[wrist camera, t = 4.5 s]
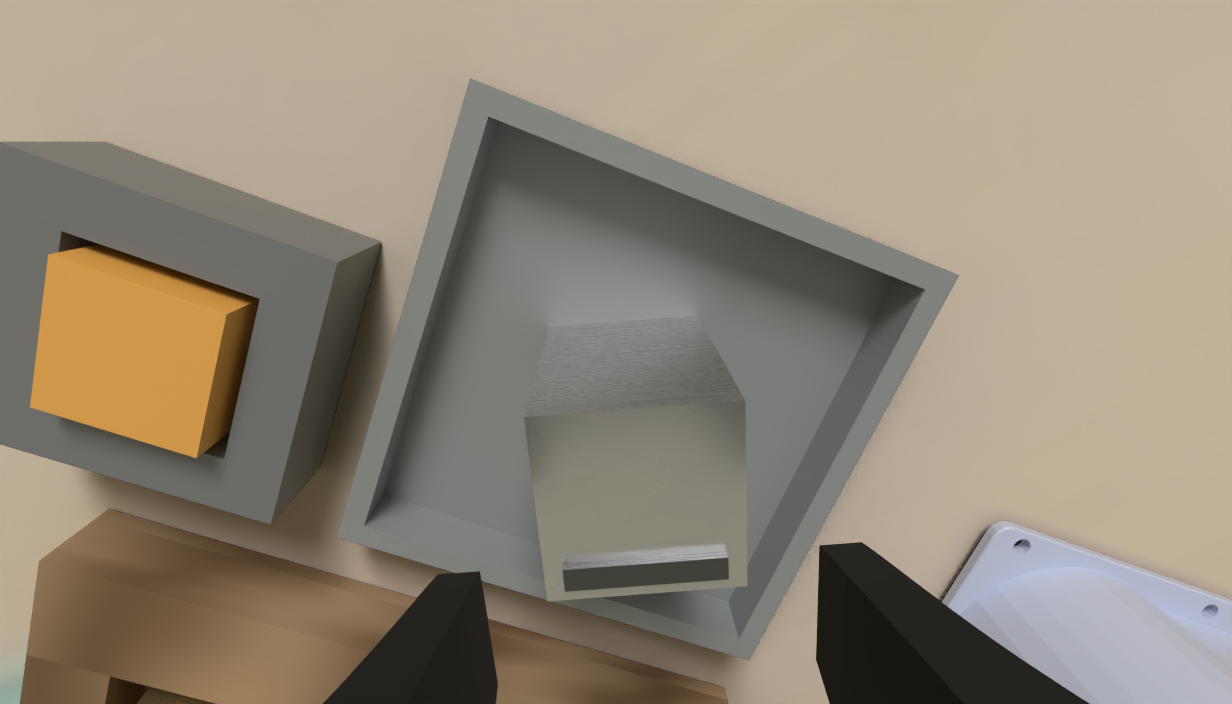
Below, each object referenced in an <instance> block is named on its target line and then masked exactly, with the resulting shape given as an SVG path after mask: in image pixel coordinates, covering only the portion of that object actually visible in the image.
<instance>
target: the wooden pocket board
mask: <svg viewBox="0 0 1232 704" xmlns="http://www.w3.org/2000/svg"><path fill="white" fill-rule="evenodd" d="M416 599H417V598H413V597H410V596H406V595H403V594H399V593H396V592H393V591H389V590H386V589H382V588H379V587H375V586H372V585H368V584H365V583H362V582H358V581H355V580H351V579H348V578H344V577H341V576H337V575H334V574H331V573H327V572H324V571H320V570H317V569H313V568H310V567H306V566H303V565H300V564H296V563H293V562H289V561H286V560H282V559H279V558H275V557H272V556H269V555H265V554H262V553H258V552H255V551H251V550H248V549H244V548H241V547H238V546H234V545H231V544H227V543H224V542H220V541H217V540H213V539H210V538H207V537H203V536H200V535H196V534H193V533H189V532H186V531H182V530H179V529H176V528H172V527H169V526H165V525H162V524H158V523H155V522H151V521H148V520H145V519H141V518H138V517H134V516H131V515H127V514H124V513H120V512H117V511H114V510H110V509H108V510H107V511H105V512H104V513H103V514H101V515H100V516H99V517H97V518H96V519H95V520H93V521H92V522H91V523H89V524H88V525H87V526H85V527H84V528H83V529H81V530H80V531H79V532H77V533H76V534H75V535H73V536H72V537H71V538H69V539H68V540H67V541H65V542H64V543H63V544H61V545H60V546H59V547H57V548H56V549H54V550H53V551H52V552H50V553H49V554H48V555H46V556H45V557H44V558H42V559H41V560H40V561H39V566H38V574H37V581H36V588H35V596H34V603H33V611H32V618H31V625H30V633H29V640H28V648H27V655H26V663H25V670H24V677H23V685H22V692H21V700H20V704H137V703H138V701H139V700H140V699H141V698H142V696H143V695H144V694H145V693H146V692H147V690H148V689H149V688H150V687H153V688H157V689H161V690H165V691H169V692H173V693H177V694H181V695H184V696H188V697H192V698H196V699H200V700H204V701H208V702H212V703H215V704H323V703H324V702H325V701H326V700H327V699H328V698H329V696H330V695H331V694H332V693H333V692H334V691H335V690H336V689H337V688H338V687H339V686H340V685H341V684H342V682H343V681H344V680H345V679H346V678H347V677H348V676H349V675H350V674H351V673H352V671H353V670H354V669H355V668H356V667H357V666H358V665H359V664H360V663H361V661H362V660H363V659H364V658H365V657H366V656H367V655H368V654H369V653H370V651H371V650H372V649H373V648H374V647H375V646H376V645H377V644H378V643H379V641H380V640H381V639H382V638H383V637H384V636H385V634H386V633H387V632H388V631H389V630H390V629H391V628H392V626H393V625H394V624H395V623H396V622H397V621H398V620H399V618H400V617H401V616H402V615H403V614H404V613H405V611H406V610H407V609H408V608H409V607H410V606H411V604H412V603H413V602H414V601H415V600H416ZM488 624H489V631H490V637H491V643H492V649H493V655H494V662H495V668H496V674H497V680H498V689H497V698H496V704H728V700H727V696H726V692H725V688H723V687H720V686H716V685H713V684H709V683H706V682H703V681H699V680H696V679H692V678H689V677H685V676H682V675H678V674H675V673H672V672H668V671H665V670H661V669H658V668H654V667H651V666H647V665H644V664H641V663H637V662H634V661H630V660H627V659H623V658H620V657H616V656H613V655H610V654H606V653H603V652H599V651H596V650H592V649H589V648H585V647H582V646H579V645H575V644H572V643H568V642H565V641H561V640H558V639H554V638H551V637H548V636H544V635H541V634H537V633H534V632H530V631H527V630H523V629H520V628H517V627H513V626H510V625H506V624H503V623H499V622H496V621H492V620H489V619H488Z"/></svg>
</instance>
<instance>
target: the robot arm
mask: <svg viewBox="0 0 1232 704" xmlns="http://www.w3.org/2000/svg"><path fill="white" fill-rule="evenodd" d="M1019 540H1022V541H1021V543H1020V544H1018V545H1016V546H1014V544H1015V543H1016V542H1017V541H1019ZM816 660H817V664H818V667H819V670H820V673H821V677H822V680H823V683H824V686H825V690H826V693H827V696H828V699H829V702H830V704H1232V599H1229V598H1226V597H1223V596H1220V595H1217V594H1215V593H1212V592H1209V591H1206V590H1203V589H1200V588H1197V587H1195V586H1192V585H1189V584H1186V583H1183V582H1180V581H1177V580H1174V579H1172V578H1169V577H1166V576H1163V575H1160V574H1157V573H1154V572H1152V571H1149V570H1146V569H1143V568H1140V567H1137V566H1134V565H1132V564H1129V563H1126V562H1123V561H1120V560H1117V559H1114V558H1111V557H1109V556H1106V555H1103V554H1100V553H1097V552H1094V551H1091V550H1089V549H1086V548H1083V547H1080V546H1077V545H1074V544H1071V543H1068V542H1066V541H1063V540H1060V539H1057V538H1054V537H1051V536H1048V535H1046V534H1043V533H1040V532H1037V531H1034V530H1031V529H1028V528H1026V527H1023V526H1020V525H1017V524H1014V523H1011V522H1006V521H1002V522H997V523H995V524H993V525H992V526H991V527H990V528H989V529H988V530H987V531H986V533H985V534H984V536H983V538H982V539H981V541H980V542H979V544H978V546H977V547H976V549H975V550H974V552H973V553H972V555H971V557H970V558H969V560H968V561H967V563H966V564H965V566H964V568H963V569H962V571H961V572H960V574H959V575H958V577H957V579H956V580H955V582H954V583H953V585H952V587H951V588H950V590H949V591H948V593H947V594H946V596H945V598H944V599H943V601H942V602H941V601H939V600H938V599H937V598H935V597H934V596H933V595H931V594H930V593H929V592H928V591H926V590H925V589H924V588H922V587H921V586H920V585H918V584H917V583H916V582H914V581H913V580H912V579H910V578H909V577H908V576H906V575H905V574H904V573H902V572H901V571H900V570H899V569H897V568H896V567H895V566H893V565H892V564H891V563H889V562H888V561H887V560H885V559H884V558H883V557H881V556H880V555H879V554H877V553H876V552H875V551H873V550H872V549H870V548H869V547H868V546H866V545H865V544H863V543H862V542H860V543H846V544H833V545H820V550H819V583H818V617H817V651H816ZM497 689H498V680H497V674H496V668H495V662H494V655H493V649H492V643H491V637H490V631H489V624H488V618H487V612H486V606H485V600H484V593H483V587H482V581H481V575H480V571H476V572H463V573H450V574H438V575H437V576H436V577H435V578H434V580H433V581H432V582H431V583H430V584H429V585H428V586H427V587H426V588H425V590H424V591H423V592H422V593H421V594H420V595H419V596H418V597H417V599H416V600H415V601H414V602H413V603H412V604H411V606H410V607H409V608H408V609H407V610H406V611H405V613H404V614H403V615H402V616H401V617H400V618H399V620H398V621H397V622H396V623H395V624H394V625H393V626H392V628H391V629H390V630H389V631H388V632H387V633H386V634H385V636H384V637H383V638H382V639H381V640H380V641H379V643H378V644H377V645H376V646H375V647H374V648H373V649H372V650H371V651H370V653H369V654H368V655H367V656H366V657H365V658H364V659H363V660H362V661H361V663H360V664H359V665H358V666H357V667H356V668H355V669H354V670H353V671H352V673H351V674H350V675H349V676H348V677H347V678H346V679H345V680H344V681H343V682H342V684H341V685H340V686H339V687H338V688H337V689H336V690H335V691H334V692H333V693H332V694H331V695H330V696H329V698H328V699H327V700H326V701H325V702H324V703H323V704H496V698H497Z"/></svg>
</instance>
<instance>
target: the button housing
mask: <svg viewBox="0 0 1232 704" xmlns="http://www.w3.org/2000/svg"><path fill="white" fill-rule="evenodd" d="M97 244H101V245H104V246H106V247H109V248H112V249H115V250H118V251H121V252H124V253H127V254H130V255H133V256H136V257H139V258H142V259H145V260H147V261H150V262H153V263H156V264H159V265H162V266H165V267H168V268H171V269H174V270H177V271H180V272H183V273H186V274H189V275H191V276H194V277H197V278H200V279H203V280H206V281H209V282H212V283H215V284H218V285H221V286H224V287H227V288H230V289H232V290H235V291H238V292H241V293H244V294H247V295H250V296H253V297H256V298H259V299H260V300H259V305H258V309H257V314H256V318H255V323H254V327H253V332H252V336H251V341H250V345H249V350H248V354H247V359H246V363H245V368H244V372H243V377H242V381H241V386H240V390H239V395H238V399H237V404H236V408H235V413H234V417H233V422H232V426H231V431H230V432H229V433H228V434H227V435H226V436H224V437H223V438H222V439H220V440H219V441H218V442H217V443H215V444H214V445H213V446H211V447H210V448H209V449H208V450H206V451H205V452H204V453H203V454H201V455H200V456H199V457H197V458H194V457H191V456H188V455H184V454H181V453H178V452H175V451H171V450H168V449H165V448H162V447H158V446H155V445H152V444H148V443H145V442H142V441H139V440H135V439H132V438H129V437H126V436H122V435H119V434H116V433H112V432H109V431H106V430H103V429H99V428H96V427H93V426H90V425H86V424H83V423H80V422H76V421H73V420H70V419H67V418H63V417H60V416H57V415H54V414H50V413H47V412H44V411H40V410H37V409H34V408H31V407H30V402H31V394H32V385H33V377H34V369H35V360H36V352H37V344H38V335H39V327H40V319H41V310H42V302H43V294H44V285H45V277H46V269H47V260H48V254H53V253H58V252H63V251H68V250H73V249H78V248H83V247H88V246H92V245H97ZM380 246H381V242H380V241H377V240H375V239H372V238H369V237H366V236H364V235H361V234H358V233H355V232H352V231H350V230H347V229H344V228H341V227H339V226H336V225H333V224H330V223H328V222H325V221H322V220H319V219H316V218H314V217H311V216H308V215H305V214H303V213H300V212H297V211H294V210H292V209H289V208H286V207H283V206H281V205H278V204H275V203H272V202H269V201H267V200H264V199H261V198H258V197H256V196H253V195H250V194H247V193H245V192H242V191H239V190H236V189H234V188H231V187H228V186H225V185H222V184H220V183H217V182H214V181H211V180H209V179H206V178H203V177H200V176H198V175H195V174H192V173H189V172H186V171H184V170H181V169H178V168H175V167H173V166H170V165H167V164H164V163H162V162H159V161H156V160H153V159H151V158H148V157H145V156H142V155H139V154H137V153H134V152H131V151H128V150H126V149H123V148H120V147H117V146H115V145H112V144H109V143H106V142H0V444H1V445H4V446H7V447H11V448H14V449H18V450H21V451H24V452H28V453H31V454H34V455H38V456H41V457H45V458H48V459H51V460H55V461H58V462H61V463H65V464H68V465H72V466H75V467H78V468H82V469H85V470H88V471H92V472H95V473H98V474H102V475H105V476H109V477H112V478H115V479H119V480H122V481H125V482H129V483H132V484H136V485H139V486H142V487H146V488H149V489H152V490H156V491H159V492H163V493H166V494H169V495H173V496H176V497H179V498H183V499H186V500H189V501H193V502H196V503H200V504H203V505H206V506H210V507H213V508H216V509H220V510H223V511H227V512H230V513H233V514H237V515H240V516H243V517H247V518H250V519H254V520H257V521H260V522H264V523H267V524H270V525H271V524H272V523H273V521H274V520H275V519H276V518H277V517H278V516H279V514H280V513H281V512H282V511H283V510H284V509H285V507H286V506H287V505H288V504H289V503H290V502H291V500H292V499H293V498H294V497H295V496H296V495H297V494H298V492H299V491H300V490H301V489H302V488H303V487H304V485H305V484H306V483H307V482H308V481H309V480H310V478H311V477H312V476H313V475H314V474H315V473H316V471H317V470H318V469H319V468H320V466H321V463H322V459H323V455H324V452H325V448H326V444H327V441H328V437H329V433H330V430H331V426H332V422H333V419H334V415H335V411H336V408H337V404H338V400H339V397H340V393H341V389H342V385H343V382H344V378H345V374H346V371H347V367H348V363H349V360H350V356H351V352H352V349H353V345H354V341H355V338H356V334H357V330H358V327H359V323H360V319H361V316H362V312H363V308H364V305H365V301H366V297H367V294H368V290H369V286H370V283H371V279H372V275H373V272H374V268H375V264H376V261H377V257H378V253H379V250H380Z"/></svg>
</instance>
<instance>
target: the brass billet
mask: <svg viewBox="0 0 1232 704" xmlns="http://www.w3.org/2000/svg"><path fill="white" fill-rule="evenodd" d="M137 704H215V703H212V702H208V701H204V700H200V699H196V698H192V697H188V696H184V695H181V694H177V693H173V692H169V691H165V690H161V689H157V688H153V687H150V688H149V689H148V690H147V692H146V693H145V694H144V695H143V696H142V698H141V699H140V700H139V701H138V703H137Z"/></svg>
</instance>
